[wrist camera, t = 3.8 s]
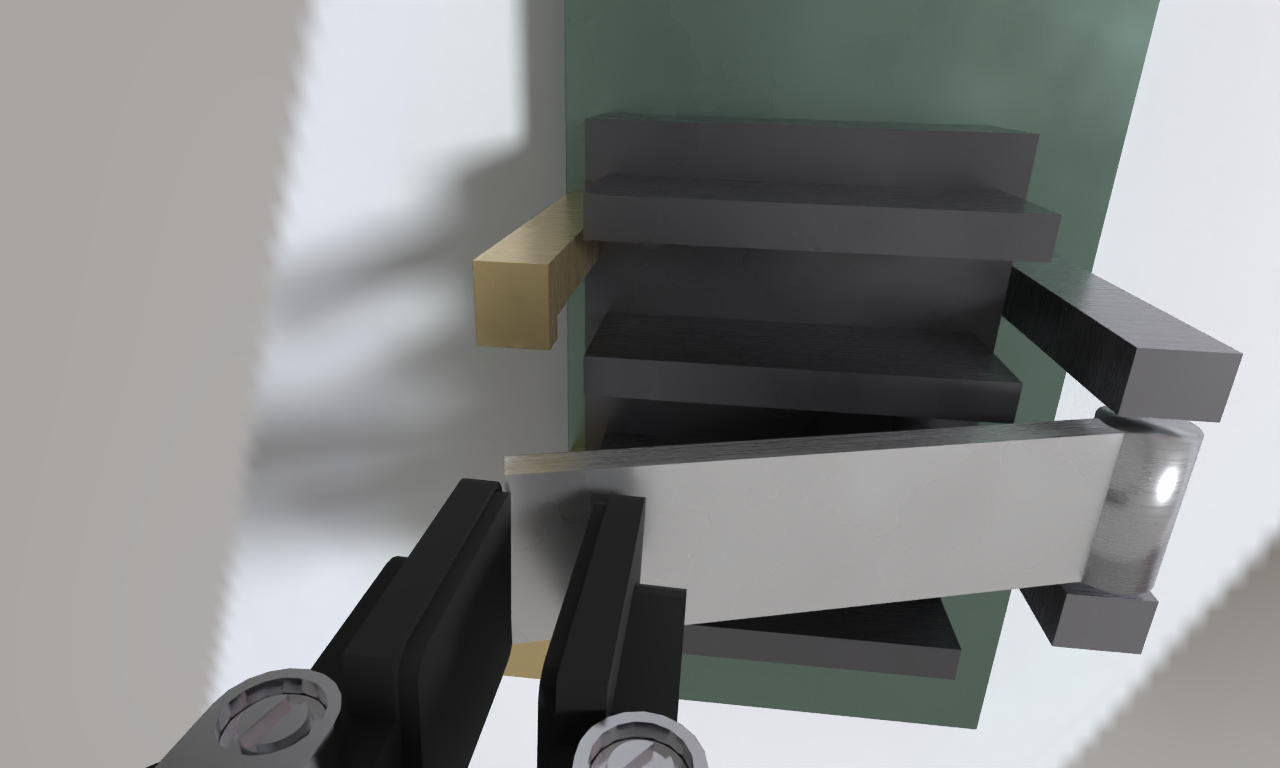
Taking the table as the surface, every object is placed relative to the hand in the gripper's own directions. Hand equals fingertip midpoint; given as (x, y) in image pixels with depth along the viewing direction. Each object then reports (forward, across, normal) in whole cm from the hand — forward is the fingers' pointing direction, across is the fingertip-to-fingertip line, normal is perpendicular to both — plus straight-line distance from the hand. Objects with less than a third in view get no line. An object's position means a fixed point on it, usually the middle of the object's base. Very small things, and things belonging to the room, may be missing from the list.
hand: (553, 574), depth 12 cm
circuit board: (+11, -5, -1) cm, 12 cm away
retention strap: (+3, -5, 0) cm, 5 cm away
